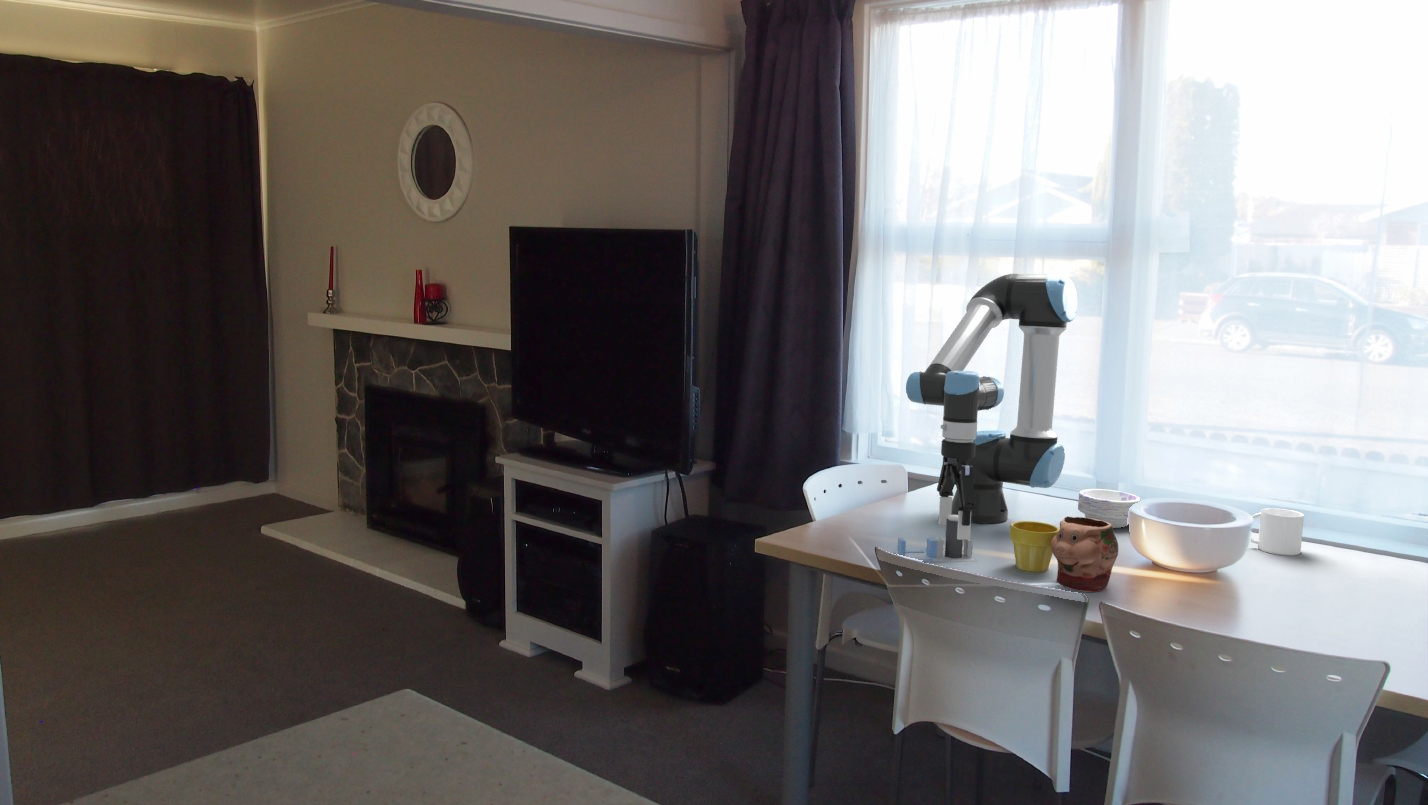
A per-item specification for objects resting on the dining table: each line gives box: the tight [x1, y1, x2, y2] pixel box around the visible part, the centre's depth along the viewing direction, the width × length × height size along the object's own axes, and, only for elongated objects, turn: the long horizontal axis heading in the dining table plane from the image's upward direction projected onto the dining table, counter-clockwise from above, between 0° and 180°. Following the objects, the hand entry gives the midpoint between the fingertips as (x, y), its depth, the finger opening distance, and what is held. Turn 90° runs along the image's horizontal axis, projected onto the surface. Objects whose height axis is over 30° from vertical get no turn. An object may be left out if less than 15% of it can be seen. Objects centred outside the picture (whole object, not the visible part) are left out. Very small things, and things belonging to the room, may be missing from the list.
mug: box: [1250, 507, 1305, 557], centre depth 244 cm, size 12×9×9 cm
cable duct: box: [893, 536, 977, 563], centre depth 233 cm, size 17×8×4 cm, turn 95°
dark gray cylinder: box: [944, 515, 964, 558], centre depth 233 cm, size 4×4×9 cm
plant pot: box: [1009, 520, 1060, 573], centre depth 225 cm, size 10×10×10 cm
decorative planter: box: [1051, 516, 1119, 593], centre depth 215 cm, size 20×12×14 cm, turn 135°
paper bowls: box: [1077, 488, 1142, 529], centre depth 267 cm, size 15×15×8 cm
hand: (953, 531), depth 232 cm, fingers open, 13 cm apart
